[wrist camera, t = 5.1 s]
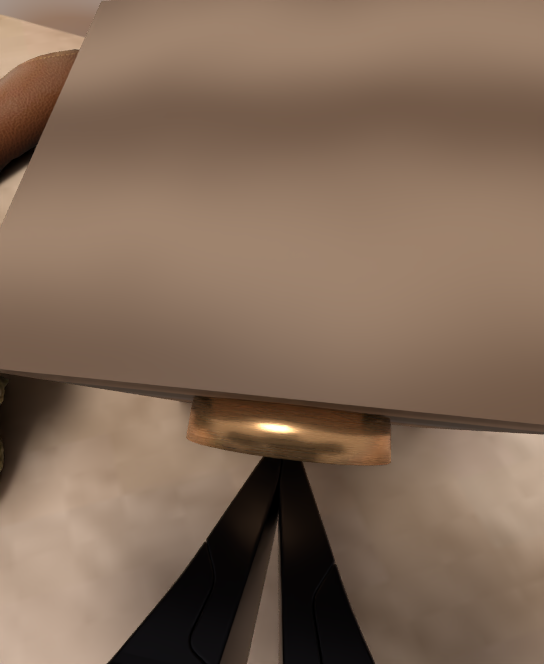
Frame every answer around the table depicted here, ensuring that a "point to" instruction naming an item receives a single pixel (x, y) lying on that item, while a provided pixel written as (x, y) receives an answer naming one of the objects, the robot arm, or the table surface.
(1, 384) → the hollow geode rock
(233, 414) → the capped peg
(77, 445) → the table surface
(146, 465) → the table surface
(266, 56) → the walnut block
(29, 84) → the sunglasses case
